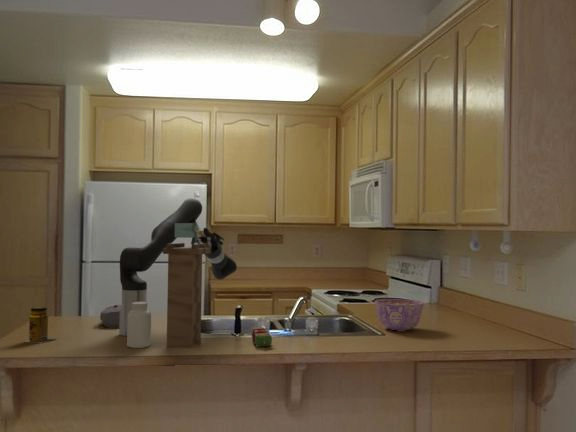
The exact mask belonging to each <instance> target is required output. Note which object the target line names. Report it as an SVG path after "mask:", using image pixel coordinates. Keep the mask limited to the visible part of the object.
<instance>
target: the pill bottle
mask: <svg viewBox="0 0 576 432" xmlns="http://www.w3.org/2000/svg"><path fill="white" fill-rule="evenodd" d="M132 309H133V310H131V311H130V312H129V313H128V323H127V336H126V346H127V347H129V348H132V349H144V348H148V347H149V346H151V341H152V335H151V334H152V313H151V310H148V309H149V308H148V301H147V302H133V303H132Z"/></svg>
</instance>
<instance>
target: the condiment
mask: <svg viewBox="0 0 576 432" xmlns="http://www.w3.org/2000/svg"><path fill="white" fill-rule="evenodd" d="M28 319H29V320H28V321H29V331H28V337H29V338H28V340H25V341H24V340H23V342H25V343H30V344H42V343H47V342H49V341H53V340H55V338H53V337H51V338H50V337H48V335H49V333H48V331H49V315H48V307H47V306H35V307H33V306H32V307H31V308H30V315H29V318H28Z"/></svg>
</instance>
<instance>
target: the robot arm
mask: <svg viewBox="0 0 576 432" xmlns="http://www.w3.org/2000/svg"><path fill="white" fill-rule="evenodd" d="M202 212H203V205H202V203H201V201H200V200H198V199H196V198H187V199H185V200H184V201H183V202H182V204H181V205H180V206H179V207H178V208H177V210H175V211H174V212H173V213H172V214H169V216H168V217H166V218H165V219H163V220H162V221H161V222H160V223H159V224H158V225H157V226H155V228H153V230H152V232H151V235H150V236H151V238H150V239H151V241H150V242H149V243H148V244H146V245H145V246H142V247H125V248H124V249H123V250H122V251H121V253H120V256H119V281H120V285H121V305H122V309H120V322H119V330H118V333H119V334H120V335H121V336H123V337H127V323H128V313H129V312H130V311H131V310H133V309H132V303H133V302H147V303H148V301H147V299H148V298H147V297H148V296H147V295H148V291H147V290H148V289H147V288H148V285H147V281H145V280H143V279H142V278H140V276H139V275H138V273H144V272H146V271H148V270H149V269H150V268H151V267H152V266H153V265H154V263H155V262H156V260H157V259H158V258H159V257H160V256H161V254H163V248H167V244H173V242H174V241H176V239H178V237H175V223H197V220H198V218H199V217H200V215H201V214H202ZM197 230H202V229H201V228H200V226H199V225H198V224H197ZM203 230H204V231H203V232H204V234H205V236H206V237H195V238H191V242H190V244H191V245H192V244H205V243H206V244H208V248H211V253H209V254H203V255H204V256H205V258H206V259H207V260H208V261H209V263H210V264H211V272H212V275H213V277H214V278H215V279H216V280H219V281H222V280H224V279H225V278H227V277H228V276H230V275H231V274H234V273H235V272H236V271H237V267H238V265H237V263H236V262H235V261H234V259H233V258H231V257H230V256H229V255H228V254H227V253H226V252H225V250H224V248H223V245H224V242H225V239H224V237H222V236H221V235H220V234H218V233H216V232H213V233H212V232H211V231H210V230H209V228H207V227H203Z"/></svg>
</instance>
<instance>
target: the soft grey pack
mask: <svg viewBox="0 0 576 432" xmlns="http://www.w3.org/2000/svg"><path fill="white" fill-rule="evenodd" d="M120 309H122V304H113V305H111V306H108V307H105V309H103V310H102V311H101V312H100V316H99V318H100V320H101V323H102V325H104V327H106V328H112V329H114V328H116V329H117V328H119V322H120Z"/></svg>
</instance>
